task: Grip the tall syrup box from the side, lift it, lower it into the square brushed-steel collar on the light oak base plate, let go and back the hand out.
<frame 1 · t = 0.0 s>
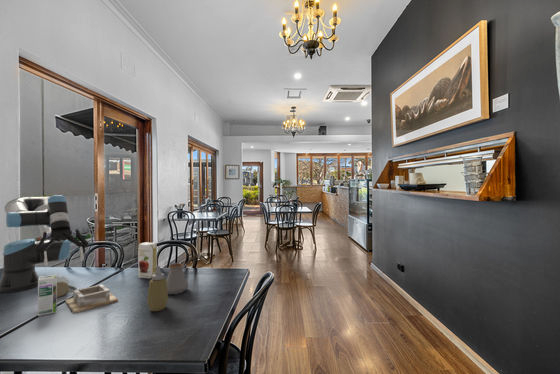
hand: (65, 262, 129), 15 cm above the table, tool tilted 35°, fingers open, 13 cm apart
syrup box: (47, 312, 112), on the table
coffee pot: (183, 288, 140), on the table
juice carton: (147, 277, 157), on the table
squeeze bottle: (157, 309, 116), on the table
ceramic mug: (62, 294, 131), on the table
collar socket: (91, 301, 123), on the table
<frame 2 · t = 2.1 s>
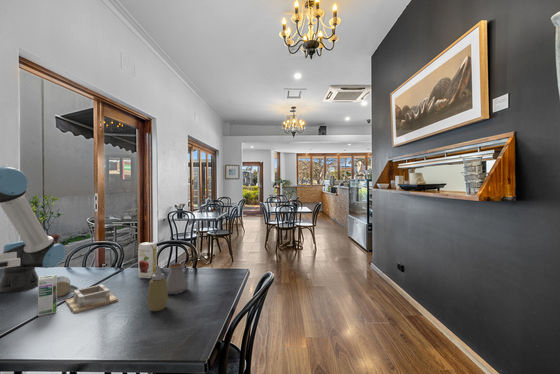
hand: (18, 258, 106), 23 cm above the table, tool horizontal, fingers open, 13 cm apart
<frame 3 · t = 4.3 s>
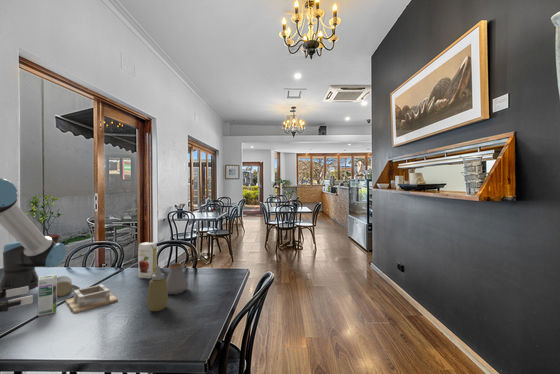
hand: (30, 294, 108), 9 cm above the table, tool horizontal, fingers open, 13 cm apart
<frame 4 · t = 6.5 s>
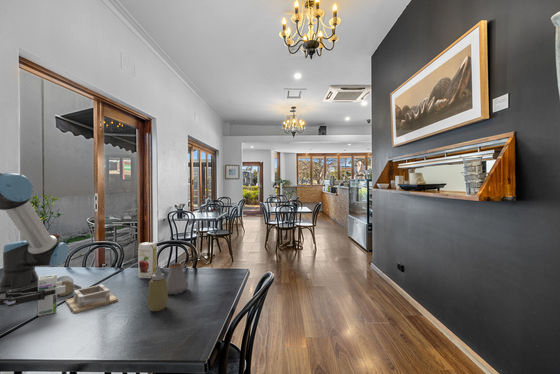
hand: (63, 286, 116), 9 cm above the table, tool horizontal, fingers closed on syrup box, 6 cm apart
syrup box: (47, 312, 112), on the table, touching gripper
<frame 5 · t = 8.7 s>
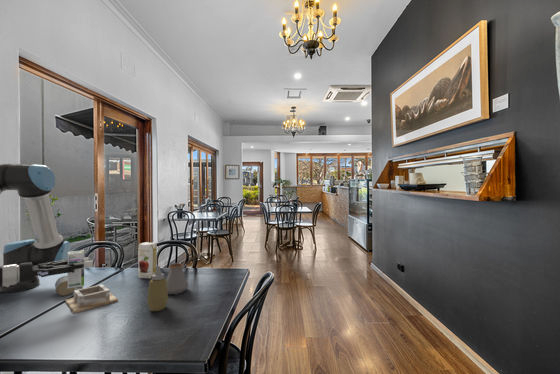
hand: (90, 262, 122), 18 cm above the table, tool horizontal, fingers closed on syrup box, 6 cm apart
syrup box: (75, 286, 118), point 9 cm above the table, touching gripper
when the fingers open (11 cm above the table, at t = 11.2 s): syrup box stays where it is, resting on collar socket.
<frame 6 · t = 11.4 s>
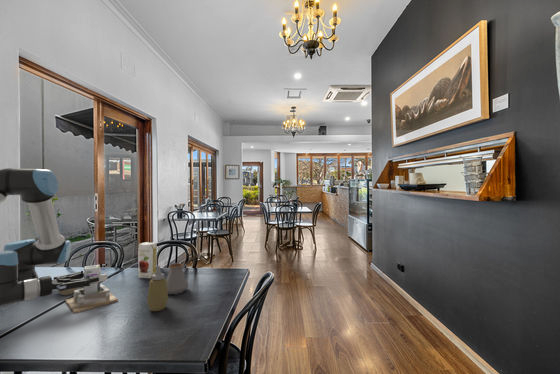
hand: (103, 274, 126), 11 cm above the table, tool horizontal, fingers open, 9 cm apart
syrup box: (91, 299, 123), point 1 cm above the table, touching collar socket
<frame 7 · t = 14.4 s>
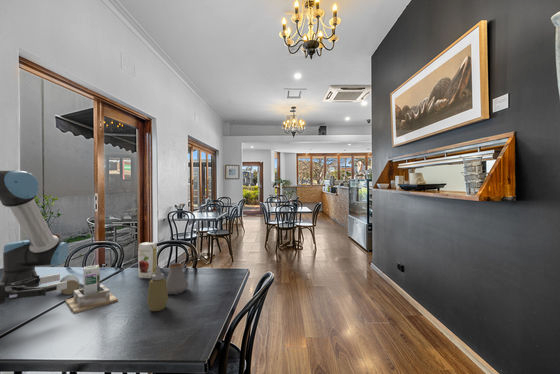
hand: (63, 280, 116), 12 cm above the table, tool horizontal, fingers open, 13 cm apart
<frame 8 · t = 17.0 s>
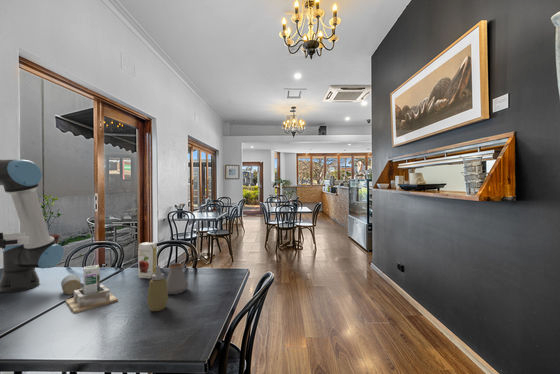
hand: (27, 237, 113), 30 cm above the table, tool horizontal, fingers open, 13 cm apart
at the end: syrup box 0.1 cm off-centre on the collar socket, point 0.8 cm above the collar socket's base; syrup box tilted 0°; the gripper is holding nothing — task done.
